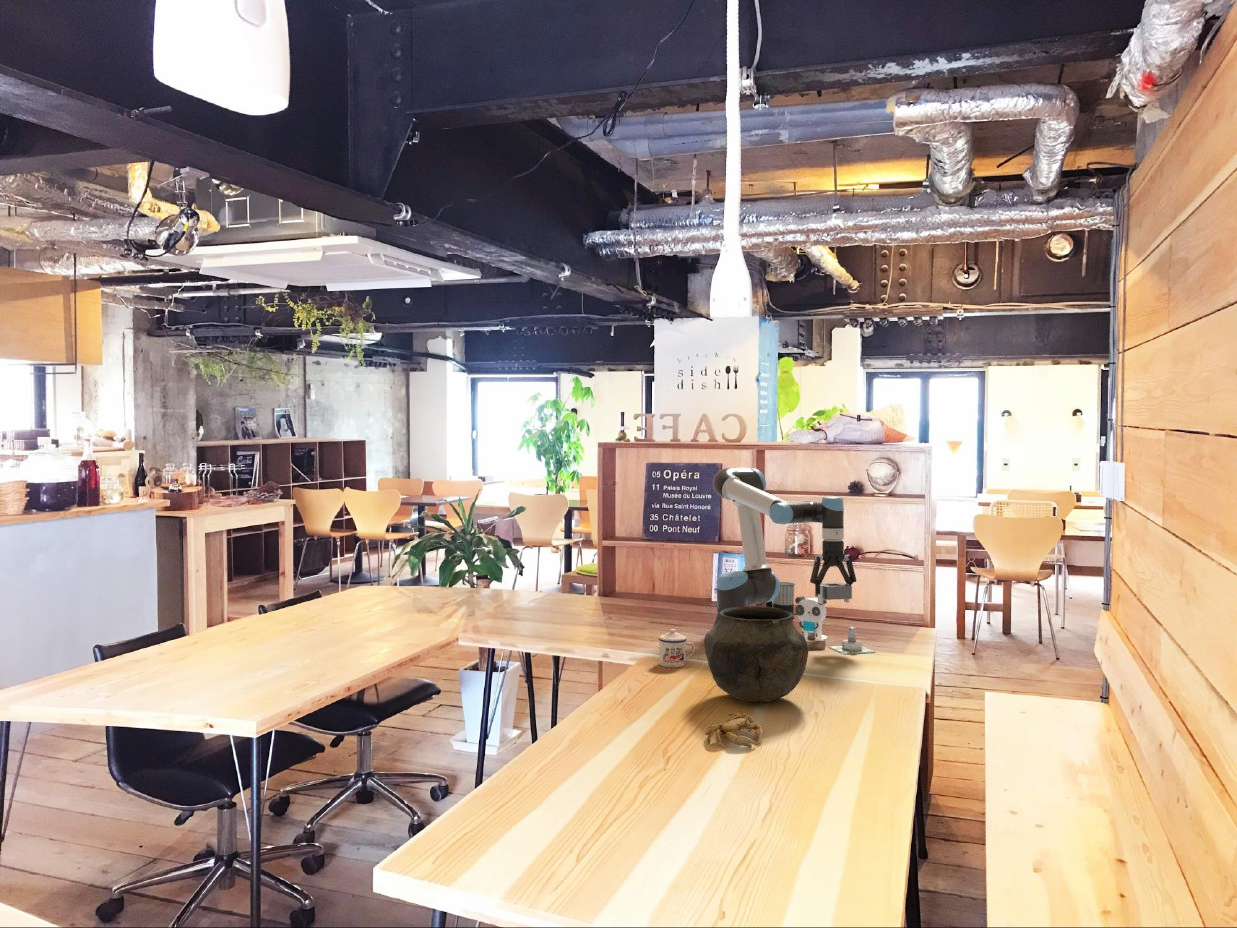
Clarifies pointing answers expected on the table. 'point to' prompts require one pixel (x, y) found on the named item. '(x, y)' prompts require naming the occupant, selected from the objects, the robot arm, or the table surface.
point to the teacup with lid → (673, 649)
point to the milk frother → (784, 598)
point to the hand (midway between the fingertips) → (833, 602)
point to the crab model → (735, 725)
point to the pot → (756, 653)
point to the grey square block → (836, 591)
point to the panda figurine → (811, 615)
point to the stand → (814, 641)
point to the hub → (851, 644)
